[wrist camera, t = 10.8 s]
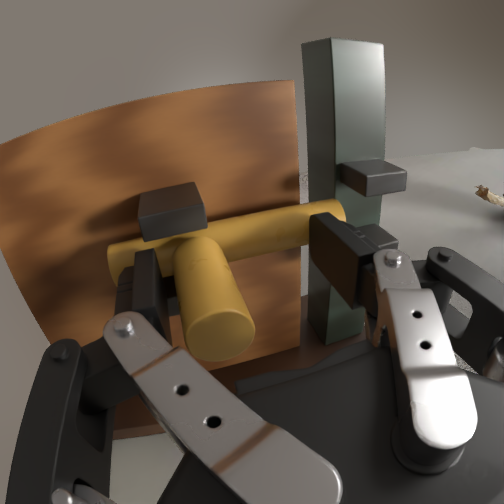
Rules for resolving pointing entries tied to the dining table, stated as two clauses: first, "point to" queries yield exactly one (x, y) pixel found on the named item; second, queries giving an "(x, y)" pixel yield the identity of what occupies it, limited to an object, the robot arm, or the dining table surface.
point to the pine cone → (489, 196)
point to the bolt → (221, 271)
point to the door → (201, 203)
